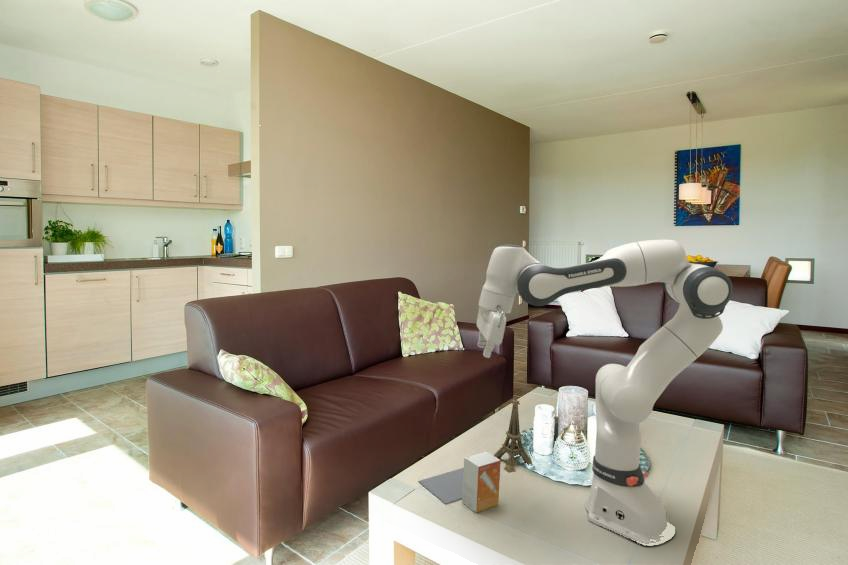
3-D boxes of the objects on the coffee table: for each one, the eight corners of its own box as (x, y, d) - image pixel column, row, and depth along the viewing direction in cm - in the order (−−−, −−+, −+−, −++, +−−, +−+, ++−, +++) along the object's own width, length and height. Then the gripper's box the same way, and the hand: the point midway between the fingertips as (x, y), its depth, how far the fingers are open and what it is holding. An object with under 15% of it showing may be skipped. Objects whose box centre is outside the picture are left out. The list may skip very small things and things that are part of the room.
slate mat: (498, 486, 143) (498, 485, 143) (445, 504, 133) (445, 503, 133) (468, 467, 155) (468, 466, 155) (418, 481, 145) (418, 480, 145)
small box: (476, 513, 129) (478, 466, 128) (461, 502, 134) (463, 457, 133) (499, 505, 134) (501, 459, 132) (484, 494, 139) (486, 450, 138)
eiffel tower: (535, 466, 157) (540, 391, 154) (508, 473, 152) (512, 395, 150) (515, 453, 166) (519, 381, 164) (489, 458, 162) (493, 385, 159)
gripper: (515, 313, 121) (502, 365, 122) (499, 299, 141) (488, 344, 143) (491, 307, 120) (477, 360, 122) (478, 294, 140) (467, 340, 142)
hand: (483, 351), depth 132 cm, fingers open, 8 cm apart
